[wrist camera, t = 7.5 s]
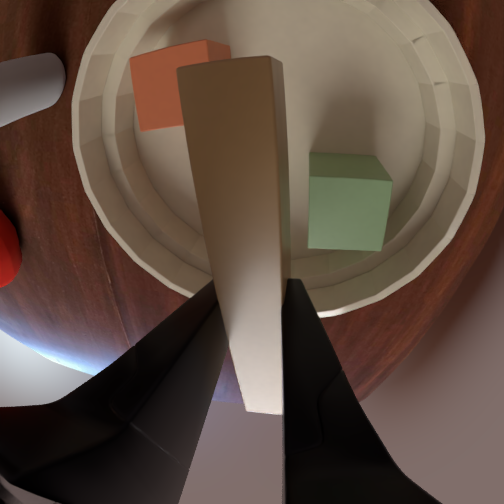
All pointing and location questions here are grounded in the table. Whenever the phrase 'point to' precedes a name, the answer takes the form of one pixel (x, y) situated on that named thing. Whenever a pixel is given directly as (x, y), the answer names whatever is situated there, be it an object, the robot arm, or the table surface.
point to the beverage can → (29, 85)
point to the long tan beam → (243, 207)
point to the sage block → (347, 201)
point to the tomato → (8, 251)
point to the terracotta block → (167, 80)
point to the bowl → (291, 132)
